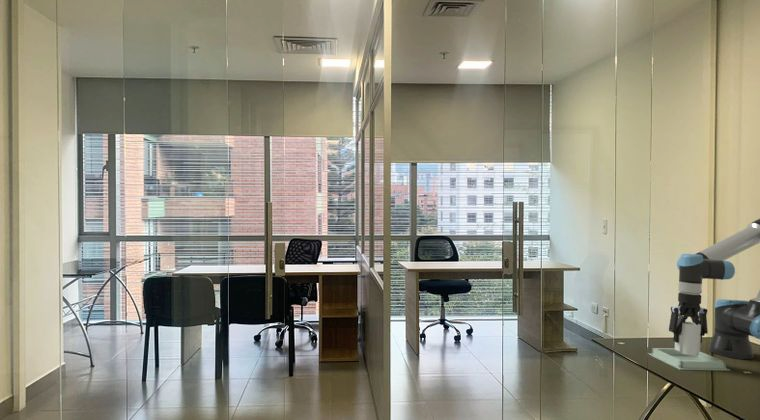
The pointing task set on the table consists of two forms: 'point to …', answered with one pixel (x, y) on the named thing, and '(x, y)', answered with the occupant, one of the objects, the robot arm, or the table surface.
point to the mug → (690, 338)
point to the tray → (688, 360)
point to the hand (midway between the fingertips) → (687, 350)
